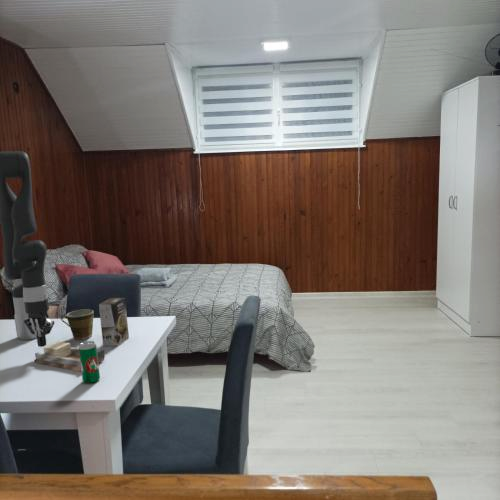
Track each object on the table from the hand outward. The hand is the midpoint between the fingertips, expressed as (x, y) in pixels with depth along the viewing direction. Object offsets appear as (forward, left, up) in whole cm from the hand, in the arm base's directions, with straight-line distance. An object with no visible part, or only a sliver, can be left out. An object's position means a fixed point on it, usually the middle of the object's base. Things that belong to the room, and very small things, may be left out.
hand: (42, 345), depth 158 cm
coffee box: (+15, +20, -4) cm, 26 cm away
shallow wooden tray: (+12, 0, -4) cm, 13 cm away
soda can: (+31, -9, -4) cm, 33 cm away
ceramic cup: (-3, +19, -4) cm, 20 cm away
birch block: (+7, 0, -3) cm, 8 cm away
